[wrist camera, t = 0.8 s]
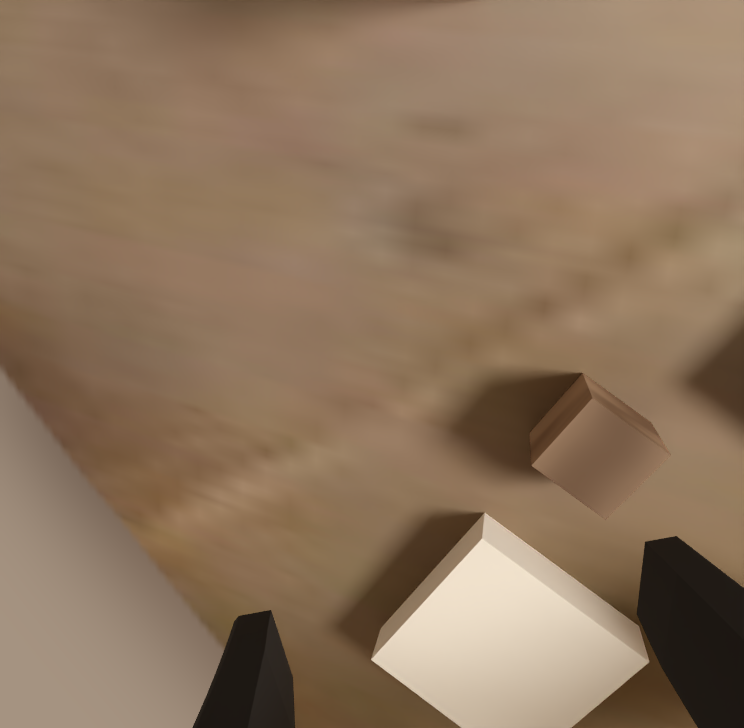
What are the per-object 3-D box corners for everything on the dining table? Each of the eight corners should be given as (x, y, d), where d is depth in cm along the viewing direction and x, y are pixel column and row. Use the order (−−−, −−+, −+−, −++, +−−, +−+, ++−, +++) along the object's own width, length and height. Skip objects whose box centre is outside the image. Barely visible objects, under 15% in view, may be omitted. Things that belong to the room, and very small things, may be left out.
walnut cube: (650, 421, 29) (670, 455, 25) (594, 480, 30) (605, 520, 26) (582, 372, 29) (592, 398, 25) (529, 432, 30) (531, 465, 26)
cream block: (637, 621, 32) (649, 662, 29) (519, 725, 35) (519, 771, 32) (485, 508, 32) (482, 538, 29) (382, 623, 36) (370, 659, 33)
